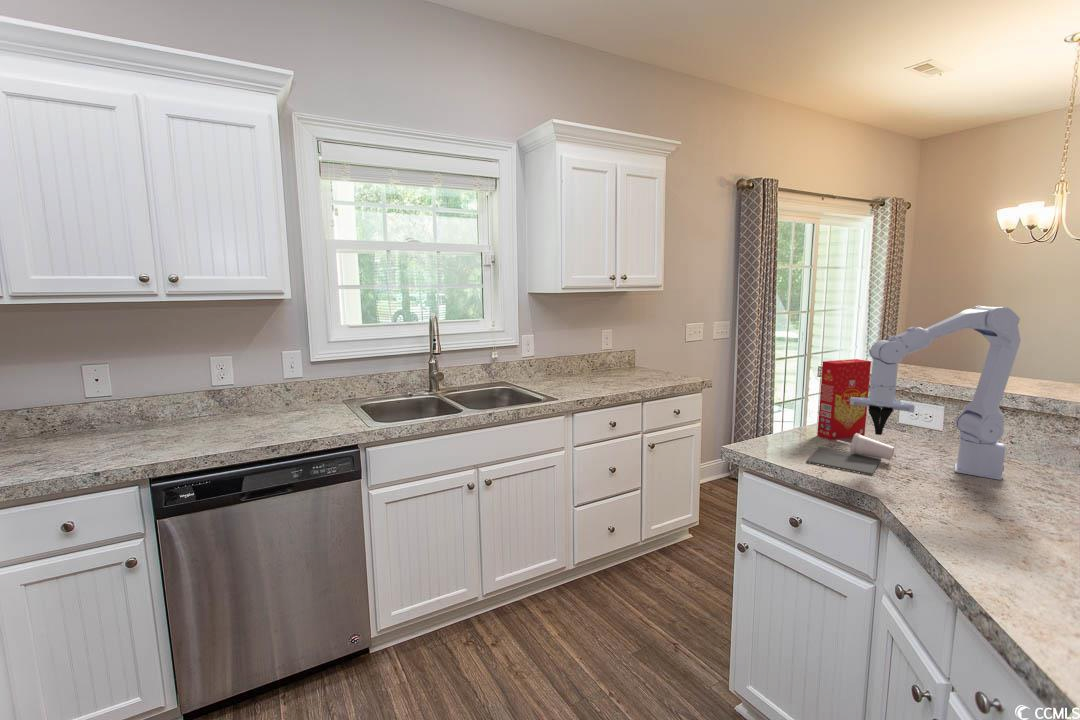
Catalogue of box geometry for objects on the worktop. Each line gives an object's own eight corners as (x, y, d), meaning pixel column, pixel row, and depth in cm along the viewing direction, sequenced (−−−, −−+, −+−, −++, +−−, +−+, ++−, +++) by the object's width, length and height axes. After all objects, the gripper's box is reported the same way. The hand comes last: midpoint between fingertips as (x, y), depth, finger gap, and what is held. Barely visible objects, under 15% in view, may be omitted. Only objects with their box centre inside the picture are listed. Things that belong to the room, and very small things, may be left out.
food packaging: (830, 439, 168) (836, 363, 164) (817, 435, 173) (822, 361, 169) (864, 435, 173) (871, 361, 169) (850, 431, 178) (856, 359, 174)
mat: (880, 459, 149) (881, 457, 149) (872, 475, 137) (872, 473, 137) (819, 448, 159) (819, 446, 159) (806, 462, 147) (806, 460, 147)
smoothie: (889, 468, 146) (835, 452, 156) (896, 448, 148) (842, 434, 158) (888, 458, 142) (832, 443, 151) (895, 438, 144) (839, 424, 153)
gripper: (849, 384, 141) (845, 432, 143) (915, 390, 132) (909, 442, 134) (854, 380, 146) (850, 427, 148) (917, 386, 137) (912, 436, 139)
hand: (878, 433), depth 142 cm, fingers closed
